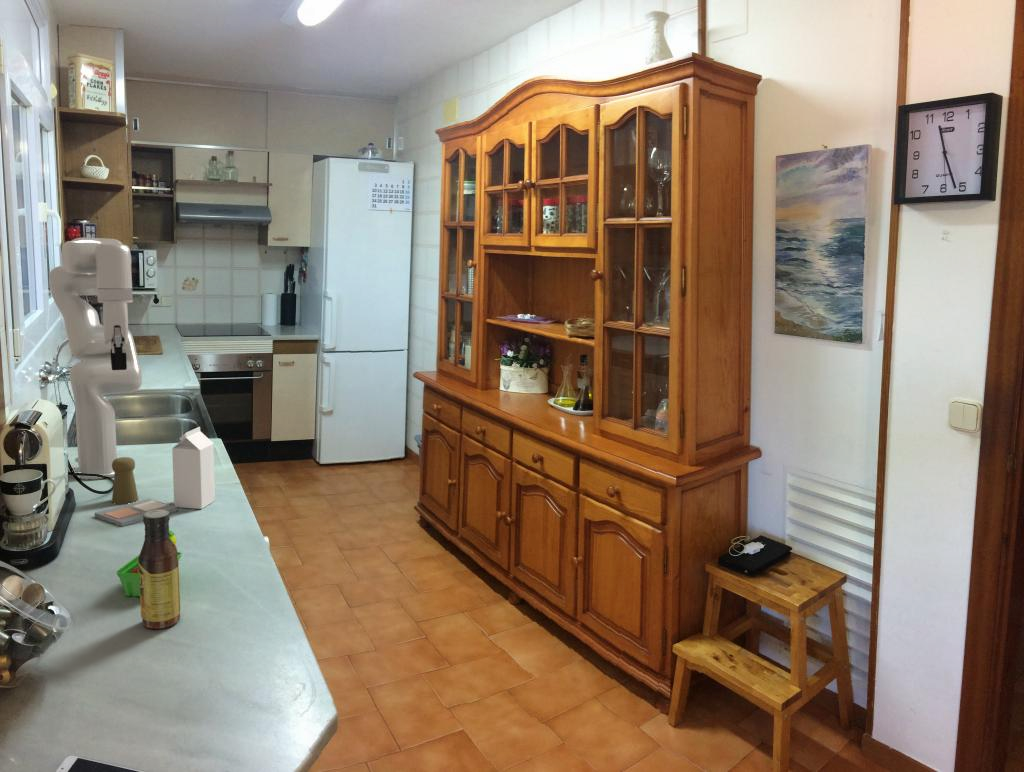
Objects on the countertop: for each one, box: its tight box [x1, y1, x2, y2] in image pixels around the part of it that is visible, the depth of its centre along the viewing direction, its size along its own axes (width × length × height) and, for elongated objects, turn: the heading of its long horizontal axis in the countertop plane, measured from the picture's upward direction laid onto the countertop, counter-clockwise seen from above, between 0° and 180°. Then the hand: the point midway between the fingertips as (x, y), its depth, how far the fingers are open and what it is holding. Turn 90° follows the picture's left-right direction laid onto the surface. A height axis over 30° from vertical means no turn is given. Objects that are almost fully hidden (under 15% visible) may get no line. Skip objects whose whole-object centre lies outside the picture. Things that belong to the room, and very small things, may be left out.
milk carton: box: [171, 426, 216, 510], centre depth 198 cm, size 7×7×19 cm
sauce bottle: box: [138, 510, 182, 630], centre depth 136 cm, size 7×6×20 cm
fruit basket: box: [116, 529, 182, 597], centre depth 151 cm, size 11×9×11 cm
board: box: [94, 498, 178, 527], centre depth 191 cm, size 11×14×1 cm
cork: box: [111, 456, 139, 505], centre depth 199 cm, size 6×6×11 cm
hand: (118, 367), depth 194 cm, fingers open, 9 cm apart
